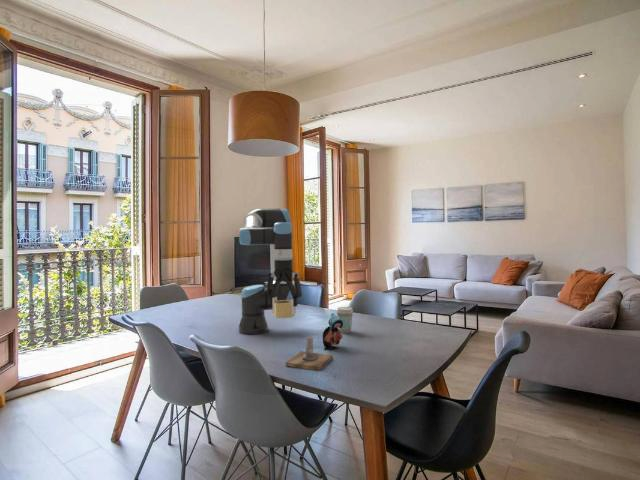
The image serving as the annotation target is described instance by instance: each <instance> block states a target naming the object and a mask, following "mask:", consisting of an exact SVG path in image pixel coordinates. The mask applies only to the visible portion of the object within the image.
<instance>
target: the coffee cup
mask: <svg viewBox="0 0 640 480" xmlns="http://www.w3.org/2000/svg"><path fill="white" fill-rule="evenodd" d="M353 313H354V310H353V308H352V307H350V306H341V307H337V309H336V314H337V315H336V316H337V317H338V318H340V319H342V320H343V327H342V328H338V329H339V330H340V332H341V334H349V333H351V332H352V325H353V323H352V322H353V315H354V314H353Z"/></svg>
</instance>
